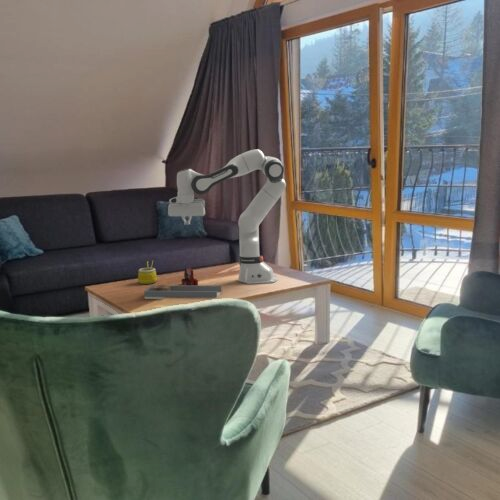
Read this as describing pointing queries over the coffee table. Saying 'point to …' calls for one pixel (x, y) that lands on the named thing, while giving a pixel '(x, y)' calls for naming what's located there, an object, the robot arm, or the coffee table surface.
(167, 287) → the walnut block
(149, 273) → the mug
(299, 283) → the coffee table surface
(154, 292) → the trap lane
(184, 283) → the red wheeled piece
